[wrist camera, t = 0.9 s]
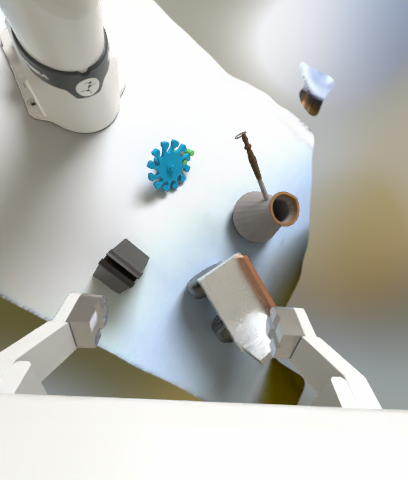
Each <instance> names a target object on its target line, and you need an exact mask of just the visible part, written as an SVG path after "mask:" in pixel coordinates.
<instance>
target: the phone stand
mask: <svg viewBox="0 0 408 480" xmlns="http://www.w3.org/2000/svg"><path fill="white" fill-rule="evenodd" d="M106 255H107V256H106V257H105V258H104V259H102V260H101V261H100V262H99V263H98V264H99V265H98V267H97V269H96V271H95V272H94V274H93V275H94V276H95V277H97V278H98V279H99V280H101V281H102V282H103V283H105V284H106V285H107V286H109V287H110V288H111V289H113V290H114V291H115V292H117V293H118V294H119V293H121V292H123V291H124V290H126V289H127V288H131V287H132V286H133V285H134V284H135V283H134V282H135V280H136V279H139V278H140V277H141V275H142V274H143V273H142V271H143V269H144V267H145V265H146V263H147V262H148V260H149V257H148V256H147V255H146V254H144V253H143V252H142V251H141V250H139V249H138V248H137V247H136V246H134V245H133V244H132V243H131V242H130V241H128V240H127V239H124V240H123V241H122V242H121V243H120V244H118V245H117V246H116V247H115V248H114V249H111V250H110V251H109V252H108V253H107V254H106Z"/></svg>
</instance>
